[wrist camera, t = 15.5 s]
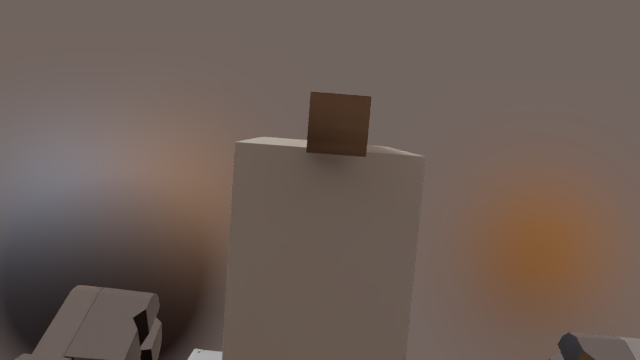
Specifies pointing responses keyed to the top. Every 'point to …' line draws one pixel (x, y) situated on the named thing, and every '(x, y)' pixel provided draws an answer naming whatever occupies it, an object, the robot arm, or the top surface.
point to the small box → (205, 355)
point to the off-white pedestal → (321, 252)
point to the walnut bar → (338, 124)
